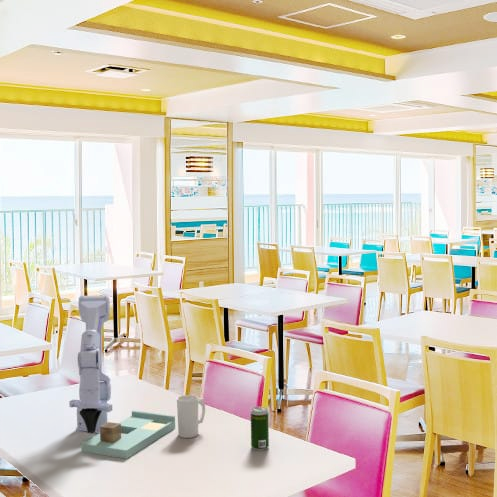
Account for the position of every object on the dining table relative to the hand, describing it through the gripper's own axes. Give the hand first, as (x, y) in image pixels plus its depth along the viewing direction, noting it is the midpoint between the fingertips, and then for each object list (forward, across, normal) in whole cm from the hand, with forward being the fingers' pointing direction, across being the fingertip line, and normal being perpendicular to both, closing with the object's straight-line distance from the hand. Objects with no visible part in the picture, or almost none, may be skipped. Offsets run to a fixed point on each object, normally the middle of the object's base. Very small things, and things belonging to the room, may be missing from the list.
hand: (91, 432), depth 220 cm
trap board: (+4, +8, +9) cm, 13 cm away
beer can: (+4, +50, +16) cm, 52 cm away
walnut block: (+2, +7, 0) cm, 7 cm away
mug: (+4, +24, +20) cm, 32 cm away
